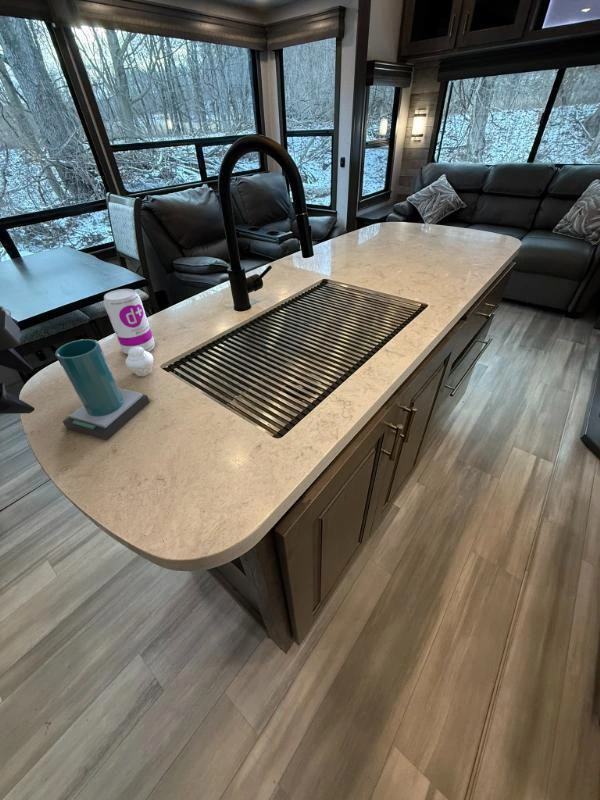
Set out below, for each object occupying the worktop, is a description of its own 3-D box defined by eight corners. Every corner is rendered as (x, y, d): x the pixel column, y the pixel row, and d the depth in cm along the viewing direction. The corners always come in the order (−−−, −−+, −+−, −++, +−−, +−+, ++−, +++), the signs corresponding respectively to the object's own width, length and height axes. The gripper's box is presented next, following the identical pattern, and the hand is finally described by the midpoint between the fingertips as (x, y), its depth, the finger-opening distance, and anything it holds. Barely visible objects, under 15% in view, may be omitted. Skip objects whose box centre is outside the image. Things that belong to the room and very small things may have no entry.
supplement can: (160, 349, 89) (143, 294, 79) (130, 360, 84) (108, 303, 75) (148, 338, 93) (130, 285, 84) (118, 349, 89) (96, 294, 80)
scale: (107, 440, 62) (101, 430, 60) (67, 429, 65) (60, 419, 63) (149, 402, 71) (146, 392, 69) (112, 393, 73) (108, 384, 72)
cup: (115, 416, 63) (87, 357, 55) (80, 417, 63) (47, 358, 55) (128, 394, 69) (104, 338, 61) (96, 395, 69) (67, 339, 60)
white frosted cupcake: (143, 382, 77) (134, 356, 72) (124, 376, 79) (113, 350, 74) (163, 369, 81) (154, 343, 76) (144, 363, 83) (135, 338, 79)
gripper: (-42, 345, 36) (79, 406, 50) (-30, 259, 46) (68, 329, 59) (-128, 399, 36) (15, 445, 50) (-98, 301, 46) (15, 362, 59)
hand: (31, 390), depth 54 cm, fingers open, 9 cm apart
